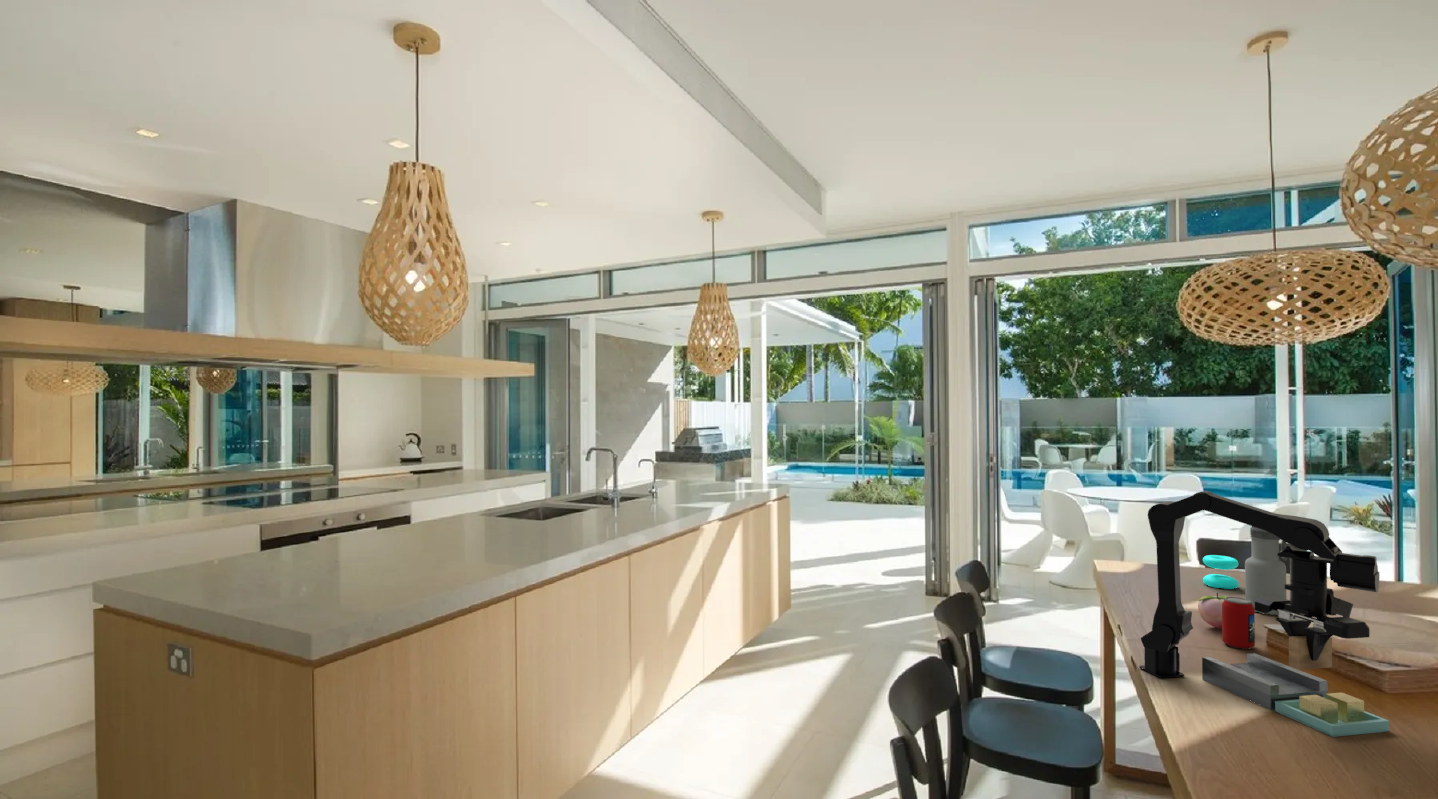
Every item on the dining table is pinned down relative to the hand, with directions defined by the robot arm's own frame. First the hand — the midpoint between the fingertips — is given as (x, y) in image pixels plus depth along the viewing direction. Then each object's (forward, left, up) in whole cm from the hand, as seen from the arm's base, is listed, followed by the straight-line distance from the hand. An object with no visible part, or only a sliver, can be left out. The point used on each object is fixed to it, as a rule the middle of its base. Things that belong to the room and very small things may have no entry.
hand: (1308, 658), depth 138 cm
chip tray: (0, -4, -11) cm, 12 cm away
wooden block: (0, 0, -2) cm, 2 cm away
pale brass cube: (-3, -3, -8) cm, 9 cm away
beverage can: (+21, +35, -11) cm, 42 cm away
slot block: (0, +10, -11) cm, 15 cm away
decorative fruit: (+28, +48, -11) cm, 56 cm away
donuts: (+69, +86, -11) cm, 111 cm away
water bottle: (+57, +59, -11) cm, 83 cm away
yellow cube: (+3, -3, -8) cm, 9 cm away
